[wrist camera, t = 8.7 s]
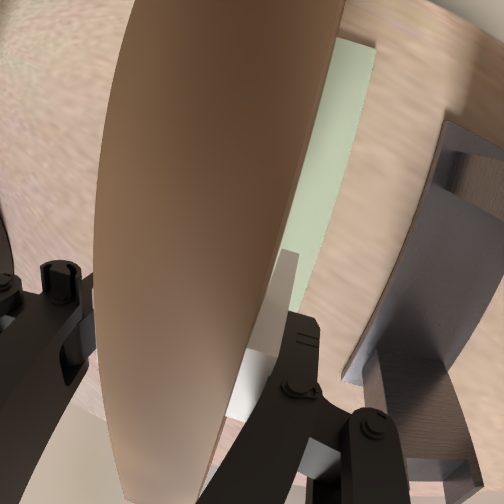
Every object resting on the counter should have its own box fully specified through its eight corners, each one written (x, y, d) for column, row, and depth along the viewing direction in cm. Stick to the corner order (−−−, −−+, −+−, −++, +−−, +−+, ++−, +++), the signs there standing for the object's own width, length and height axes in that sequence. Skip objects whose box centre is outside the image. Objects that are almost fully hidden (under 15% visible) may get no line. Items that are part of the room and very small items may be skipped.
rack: (341, 374, 22) (338, 517, 11) (443, 120, 15) (586, 123, 4) (425, 392, 22) (452, 515, 11) (533, 172, 14) (661, 225, 3)
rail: (149, 454, 14) (125, 498, 11) (229, -47, 6) (185, -111, 3) (206, 476, 14) (187, 524, 11) (352, -29, 5) (362, -101, 2)
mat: (174, 348, 25) (172, 352, 24) (240, 21, 15) (238, 17, 15) (269, 379, 24) (268, 384, 23) (375, 52, 14) (376, 49, 14)
